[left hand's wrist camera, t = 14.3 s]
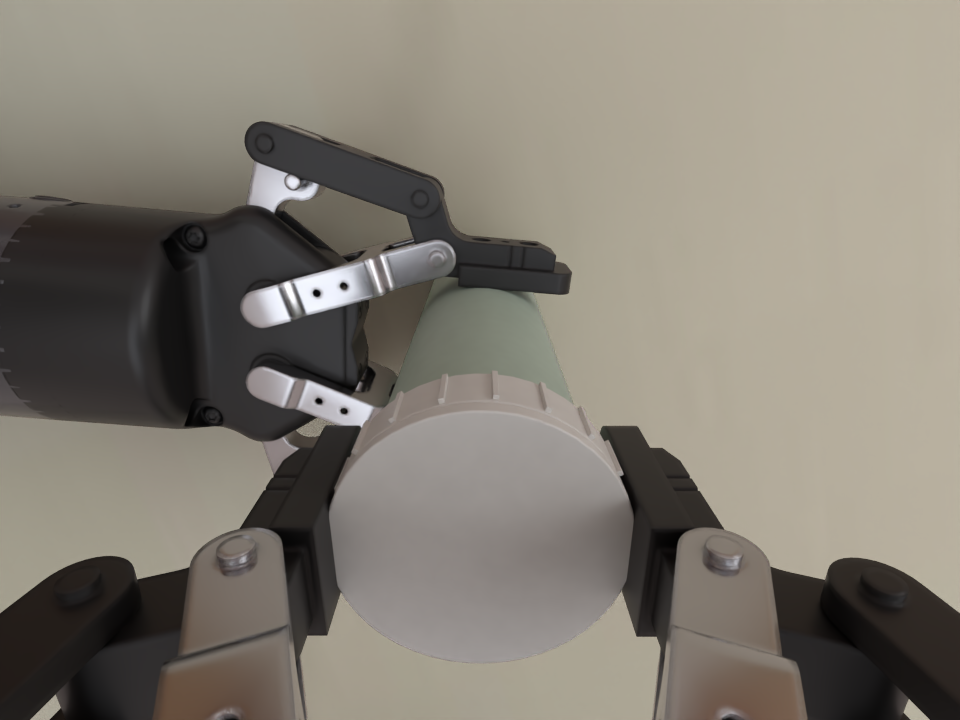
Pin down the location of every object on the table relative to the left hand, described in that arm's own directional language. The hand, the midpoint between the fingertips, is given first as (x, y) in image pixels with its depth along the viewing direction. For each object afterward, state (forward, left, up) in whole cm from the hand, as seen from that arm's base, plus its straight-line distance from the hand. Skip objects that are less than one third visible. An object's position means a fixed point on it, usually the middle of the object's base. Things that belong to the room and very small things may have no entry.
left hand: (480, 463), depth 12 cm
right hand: (+2, -1, -8) cm, 8 cm away
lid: (0, 0, +2) cm, 2 cm away
